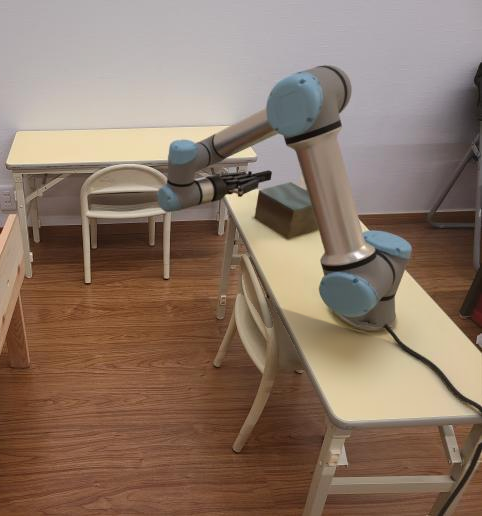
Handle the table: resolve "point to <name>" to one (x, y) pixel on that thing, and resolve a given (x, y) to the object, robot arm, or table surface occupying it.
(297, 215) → the chest
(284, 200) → the lid
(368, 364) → the table surface
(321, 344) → the table surface
